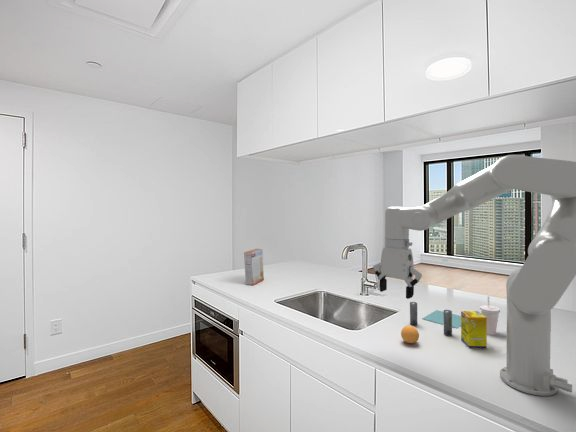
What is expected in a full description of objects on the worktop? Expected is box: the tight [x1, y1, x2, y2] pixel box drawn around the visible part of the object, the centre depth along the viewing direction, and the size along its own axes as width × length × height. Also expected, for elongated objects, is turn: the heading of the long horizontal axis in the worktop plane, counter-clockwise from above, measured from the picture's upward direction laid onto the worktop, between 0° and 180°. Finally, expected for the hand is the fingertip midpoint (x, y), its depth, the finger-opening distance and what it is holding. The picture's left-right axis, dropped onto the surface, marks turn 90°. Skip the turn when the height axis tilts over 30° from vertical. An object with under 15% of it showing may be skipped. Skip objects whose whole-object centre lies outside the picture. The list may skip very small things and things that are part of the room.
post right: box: [443, 309, 453, 337], centre depth 117 cm, size 3×3×9 cm
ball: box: [400, 325, 420, 345], centre depth 111 cm, size 6×6×6 cm
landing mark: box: [421, 309, 461, 329], centre depth 132 cm, size 14×14×1 cm
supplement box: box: [460, 310, 488, 349], centre depth 108 cm, size 6×6×11 cm
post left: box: [409, 301, 418, 327], centre depth 127 cm, size 3×3×9 cm
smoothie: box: [479, 296, 501, 336], centre depth 117 cm, size 6×6×14 cm
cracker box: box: [243, 248, 265, 286], centre depth 200 cm, size 14×6×21 cm, turn 155°
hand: (395, 294), depth 105 cm, fingers open, 9 cm apart
